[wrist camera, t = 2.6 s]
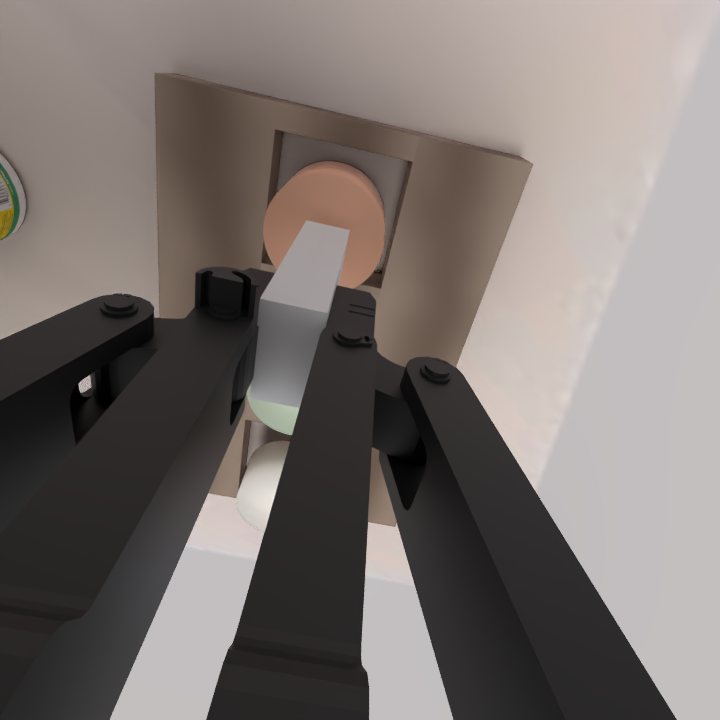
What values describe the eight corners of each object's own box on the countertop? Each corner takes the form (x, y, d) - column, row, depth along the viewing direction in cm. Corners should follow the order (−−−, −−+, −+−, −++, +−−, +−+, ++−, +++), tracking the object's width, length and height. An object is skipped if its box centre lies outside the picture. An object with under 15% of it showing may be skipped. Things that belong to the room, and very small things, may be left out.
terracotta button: (272, 257, 22) (257, 281, 19) (284, 149, 19) (269, 160, 17) (371, 278, 22) (369, 305, 20) (396, 175, 20) (397, 189, 17)
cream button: (245, 489, 30) (233, 527, 28) (252, 434, 28) (238, 470, 25) (318, 502, 31) (312, 541, 28) (331, 449, 28) (325, 486, 26)
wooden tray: (174, 463, 33) (163, 484, 31) (173, 73, 20) (154, 73, 19) (394, 504, 34) (395, 526, 32) (521, 157, 21) (532, 164, 20)
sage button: (257, 391, 26) (243, 426, 24) (265, 316, 24) (251, 346, 21) (340, 408, 26) (336, 443, 24) (358, 335, 24) (354, 366, 21)
